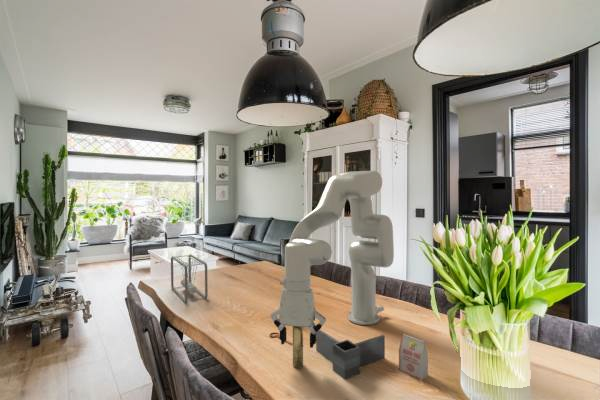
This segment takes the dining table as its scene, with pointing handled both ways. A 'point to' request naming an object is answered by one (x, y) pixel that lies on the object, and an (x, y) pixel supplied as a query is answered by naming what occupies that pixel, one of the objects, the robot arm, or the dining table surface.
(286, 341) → the key
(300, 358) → the hinge pin
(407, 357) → the tea bag
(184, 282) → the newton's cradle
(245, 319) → the dining table surface
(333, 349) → the bracket
